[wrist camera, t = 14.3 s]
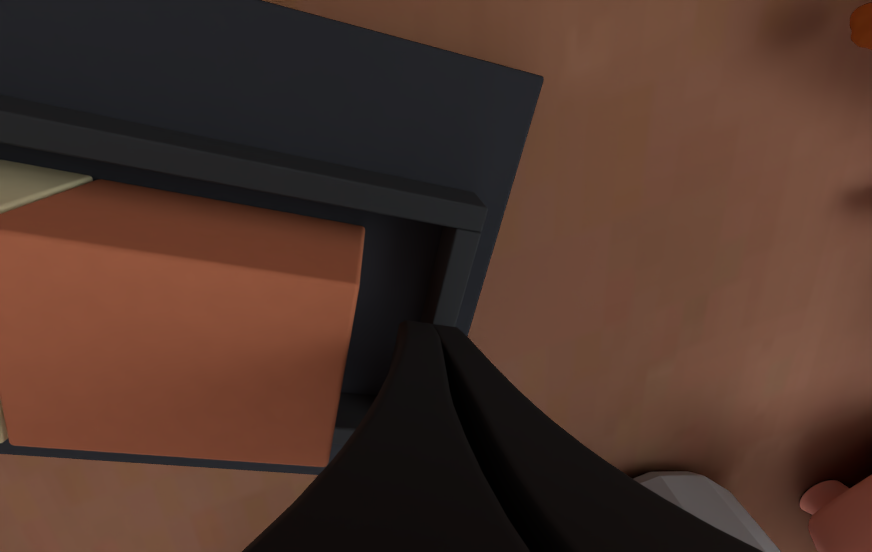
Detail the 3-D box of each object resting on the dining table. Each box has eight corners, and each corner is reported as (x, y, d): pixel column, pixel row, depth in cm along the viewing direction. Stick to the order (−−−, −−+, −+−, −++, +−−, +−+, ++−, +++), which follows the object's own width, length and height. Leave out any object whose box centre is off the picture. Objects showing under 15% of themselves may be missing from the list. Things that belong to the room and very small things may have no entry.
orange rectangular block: (365, 225, 11) (359, 285, 8) (340, 371, 13) (327, 469, 9) (98, 177, 10) (-39, 224, 7) (110, 345, 11) (7, 447, 8)
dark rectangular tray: (531, 77, 11) (571, 76, 9) (422, 459, 16) (428, 523, 14) (-377, -167, 7) (-703, -273, 5) (-155, 415, 12) (-274, 490, 10)
